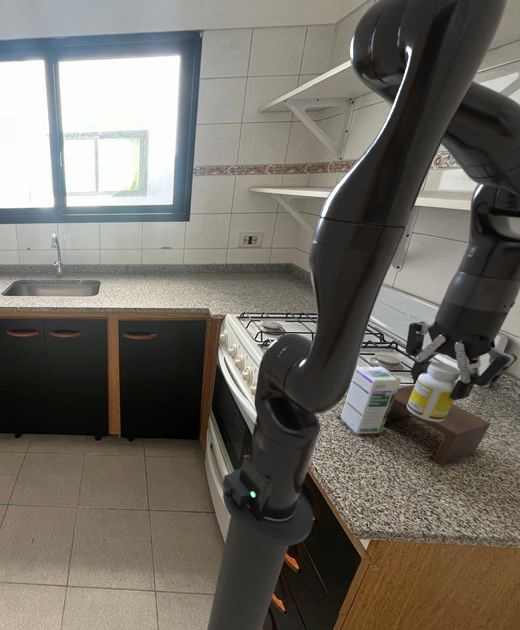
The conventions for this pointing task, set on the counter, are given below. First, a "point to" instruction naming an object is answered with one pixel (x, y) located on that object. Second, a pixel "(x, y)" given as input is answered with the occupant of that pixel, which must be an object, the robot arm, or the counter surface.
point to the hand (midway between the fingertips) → (435, 388)
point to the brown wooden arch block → (446, 428)
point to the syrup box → (369, 399)
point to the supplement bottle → (433, 392)
